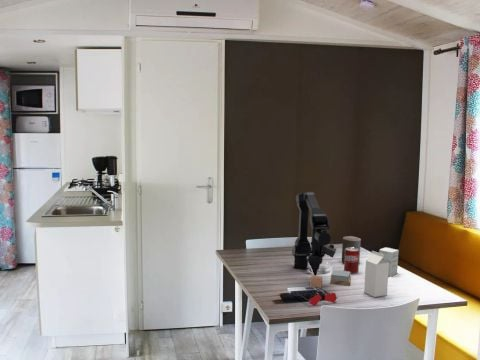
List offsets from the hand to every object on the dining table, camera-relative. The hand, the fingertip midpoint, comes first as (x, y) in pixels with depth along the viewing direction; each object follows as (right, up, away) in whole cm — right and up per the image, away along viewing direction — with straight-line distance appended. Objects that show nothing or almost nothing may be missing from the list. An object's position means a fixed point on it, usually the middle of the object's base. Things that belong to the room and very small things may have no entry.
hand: (316, 272), depth 234 cm
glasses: (-4, -9, -17) cm, 19 cm away
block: (0, -6, +1) cm, 6 cm away
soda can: (+21, -4, +22) cm, 31 cm away
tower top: (+12, -4, +5) cm, 14 cm away
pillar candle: (+25, -2, +38) cm, 46 cm away
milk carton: (+25, -8, -10) cm, 28 cm away
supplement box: (+39, -5, +20) cm, 44 cm away
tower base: (+13, -6, +6) cm, 15 cm away
